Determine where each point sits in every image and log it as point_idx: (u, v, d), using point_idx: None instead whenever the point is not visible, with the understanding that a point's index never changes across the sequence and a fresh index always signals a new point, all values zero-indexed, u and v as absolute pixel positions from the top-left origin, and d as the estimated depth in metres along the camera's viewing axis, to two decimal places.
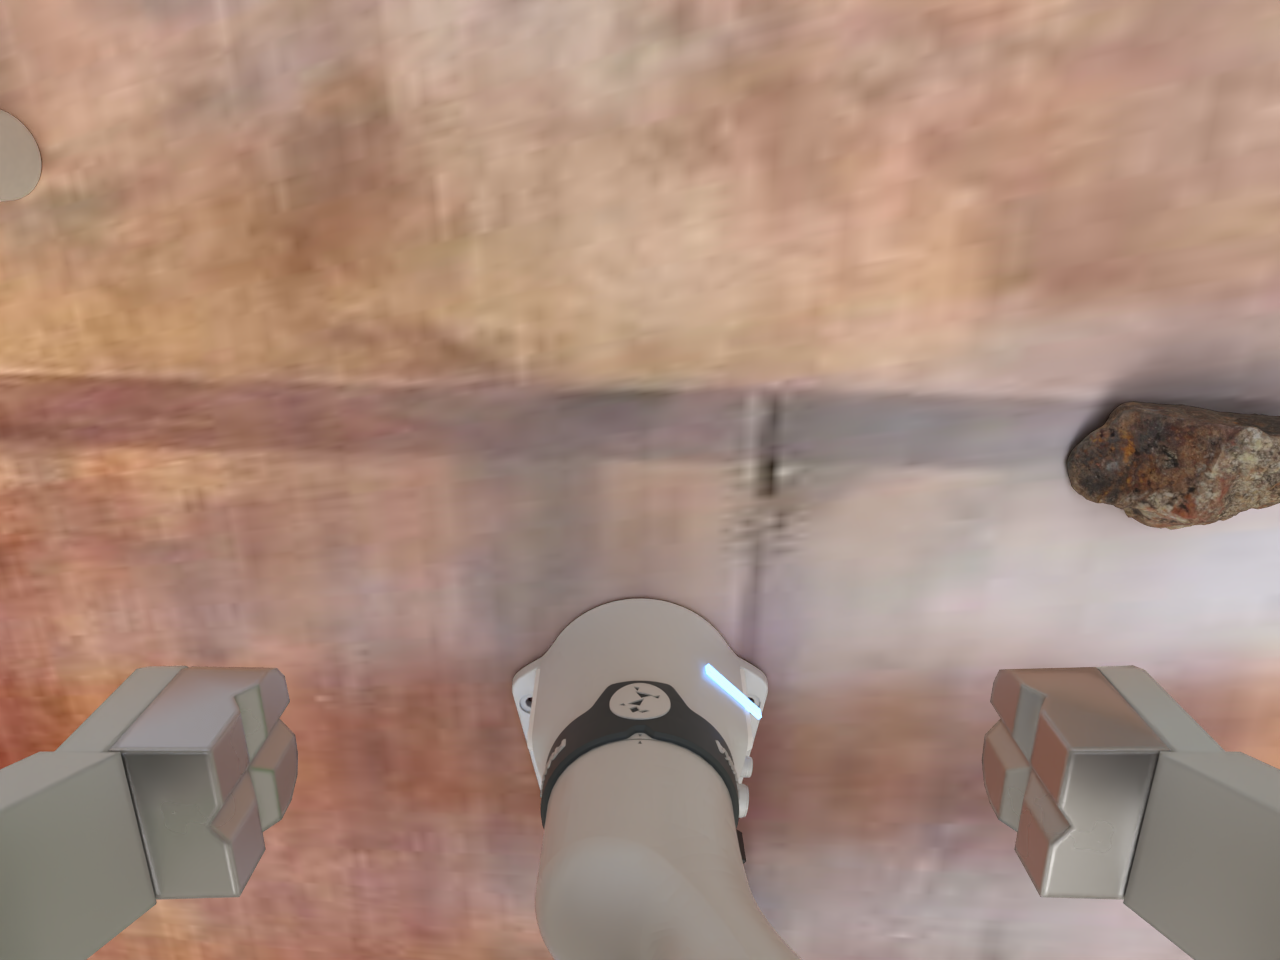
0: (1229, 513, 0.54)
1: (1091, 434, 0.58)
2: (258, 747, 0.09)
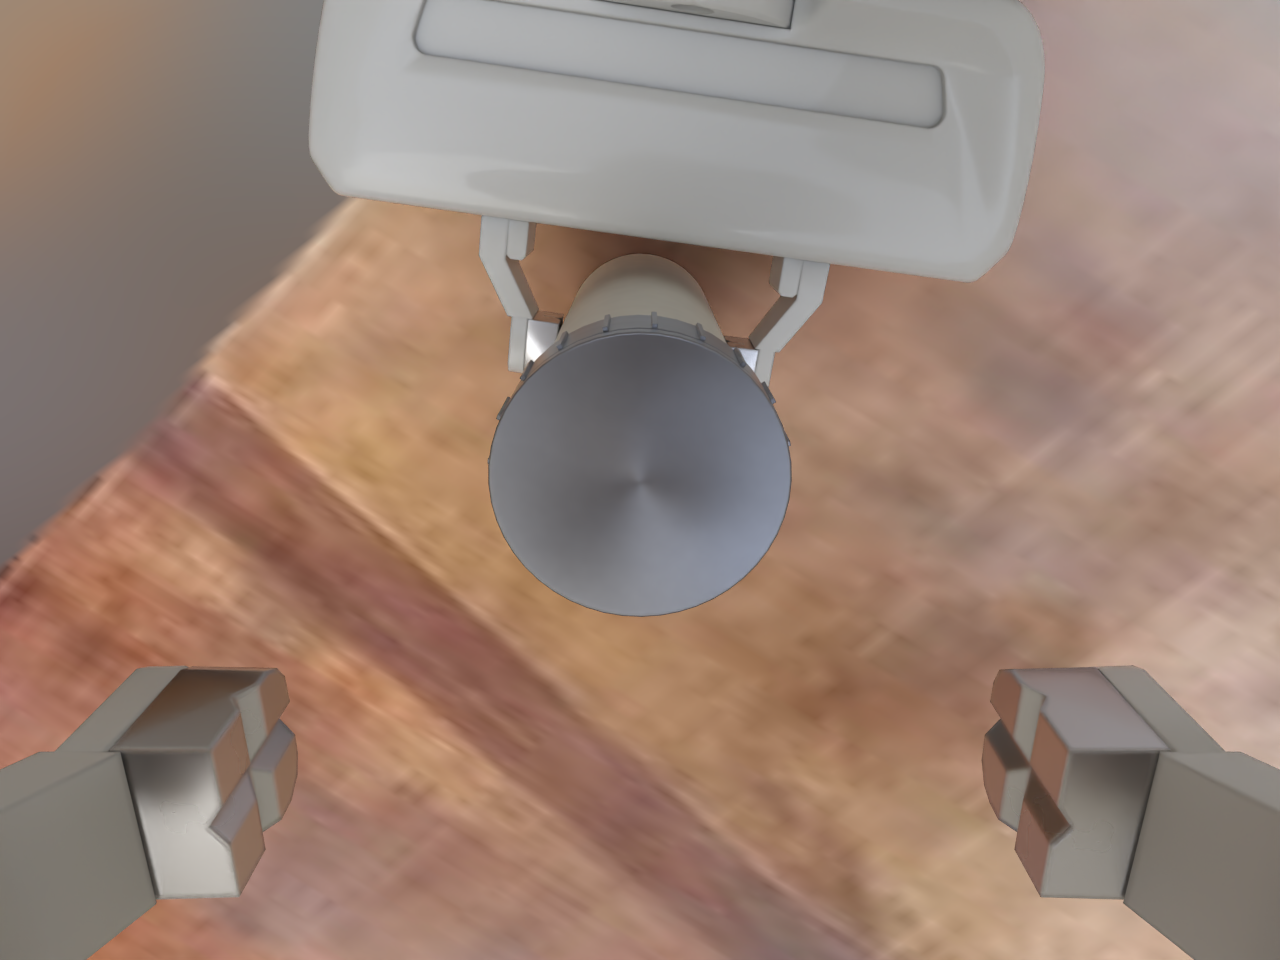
0: None
1: None
2: (258, 747, 0.09)
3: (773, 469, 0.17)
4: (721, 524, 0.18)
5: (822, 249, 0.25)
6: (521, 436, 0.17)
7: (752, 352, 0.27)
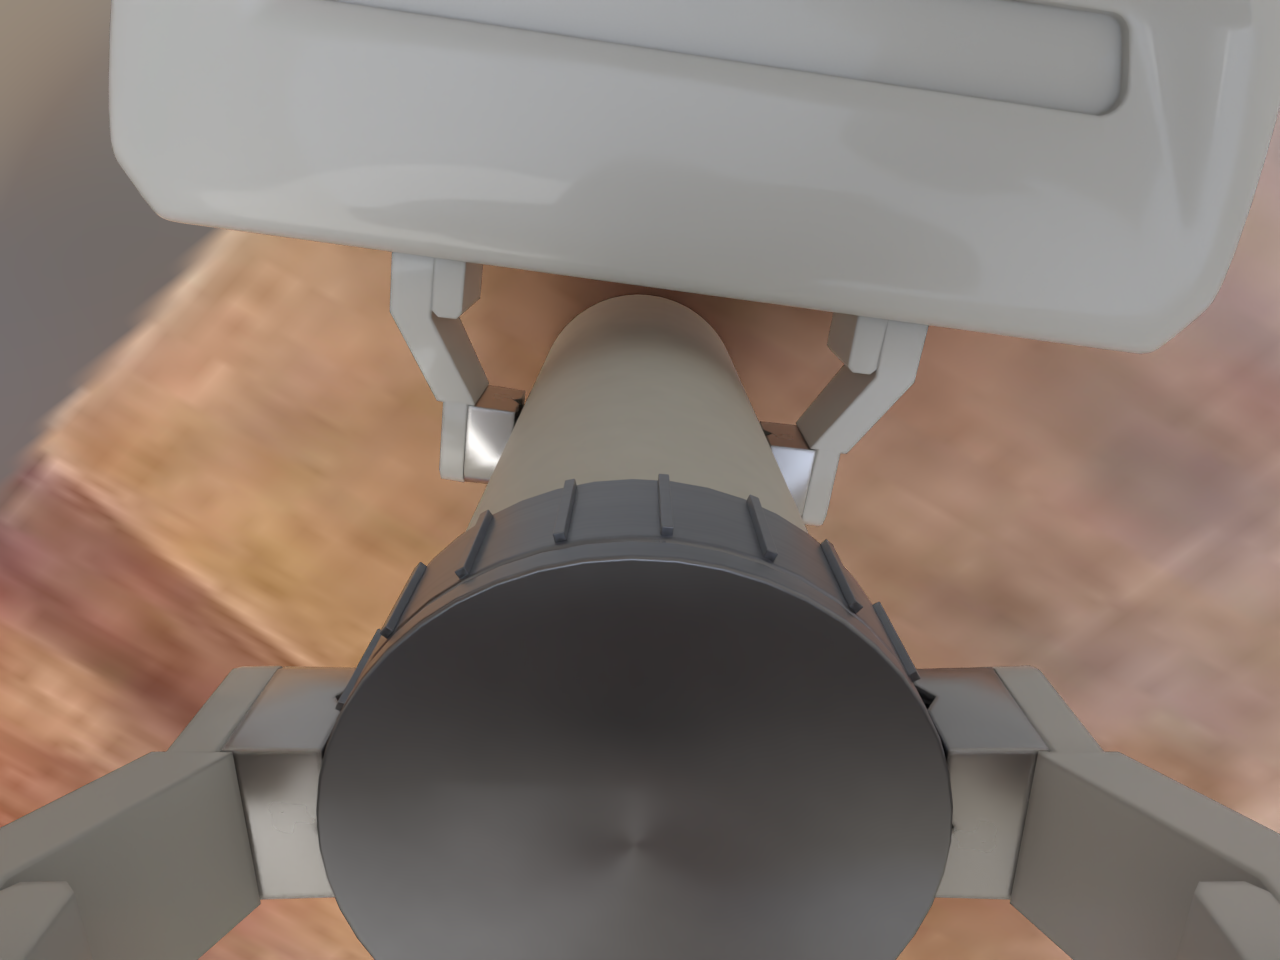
0: None
1: None
2: None
3: (915, 821, 0.08)
4: (802, 917, 0.09)
5: (921, 305, 0.16)
6: (381, 760, 0.08)
7: (806, 454, 0.18)
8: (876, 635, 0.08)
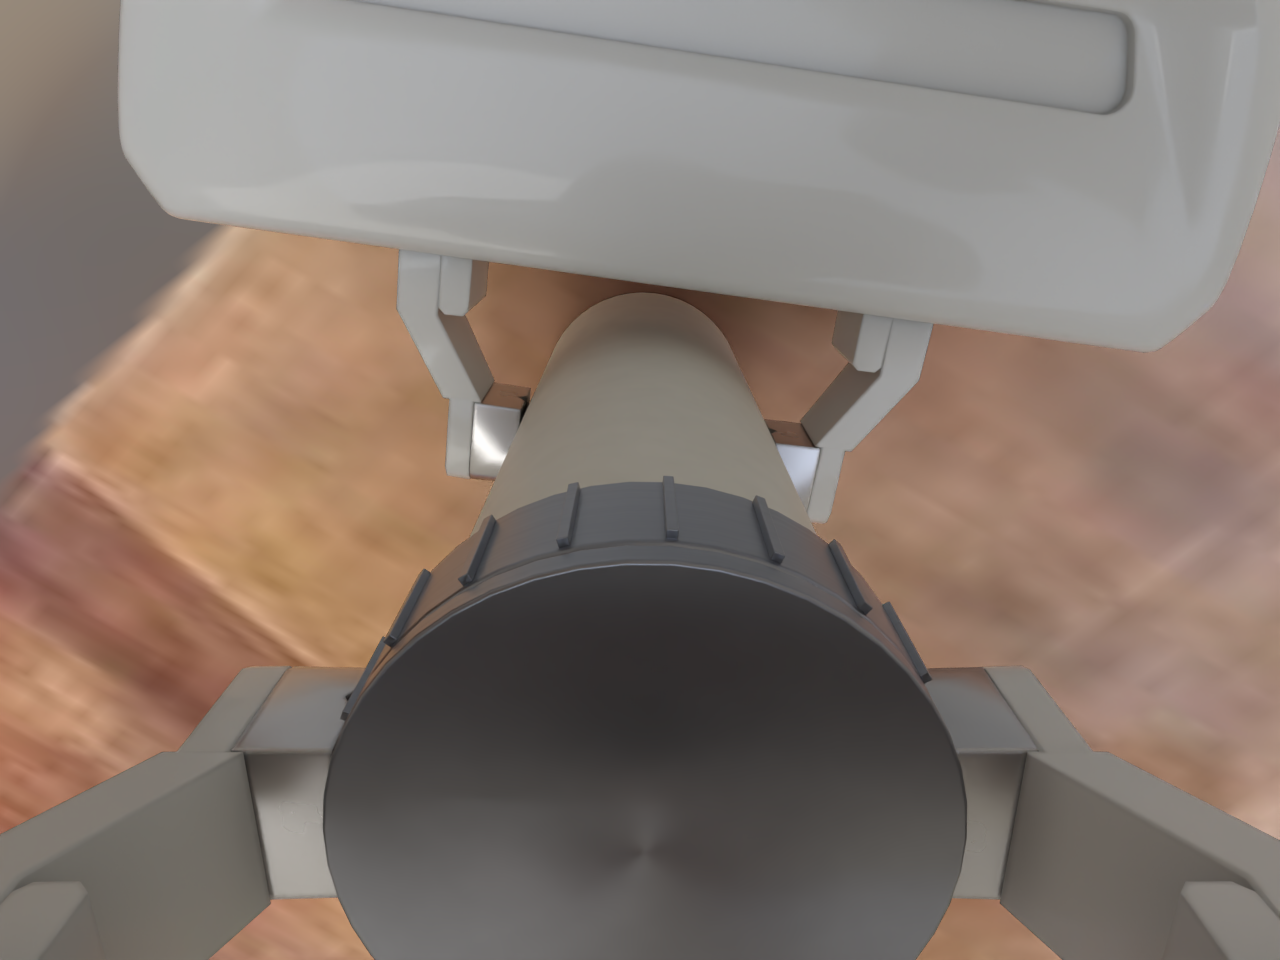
0: None
1: None
2: None
3: (796, 635, 0.07)
4: (830, 779, 0.08)
5: (926, 303, 0.16)
6: (430, 958, 0.09)
7: (811, 451, 0.18)
8: (598, 544, 0.08)
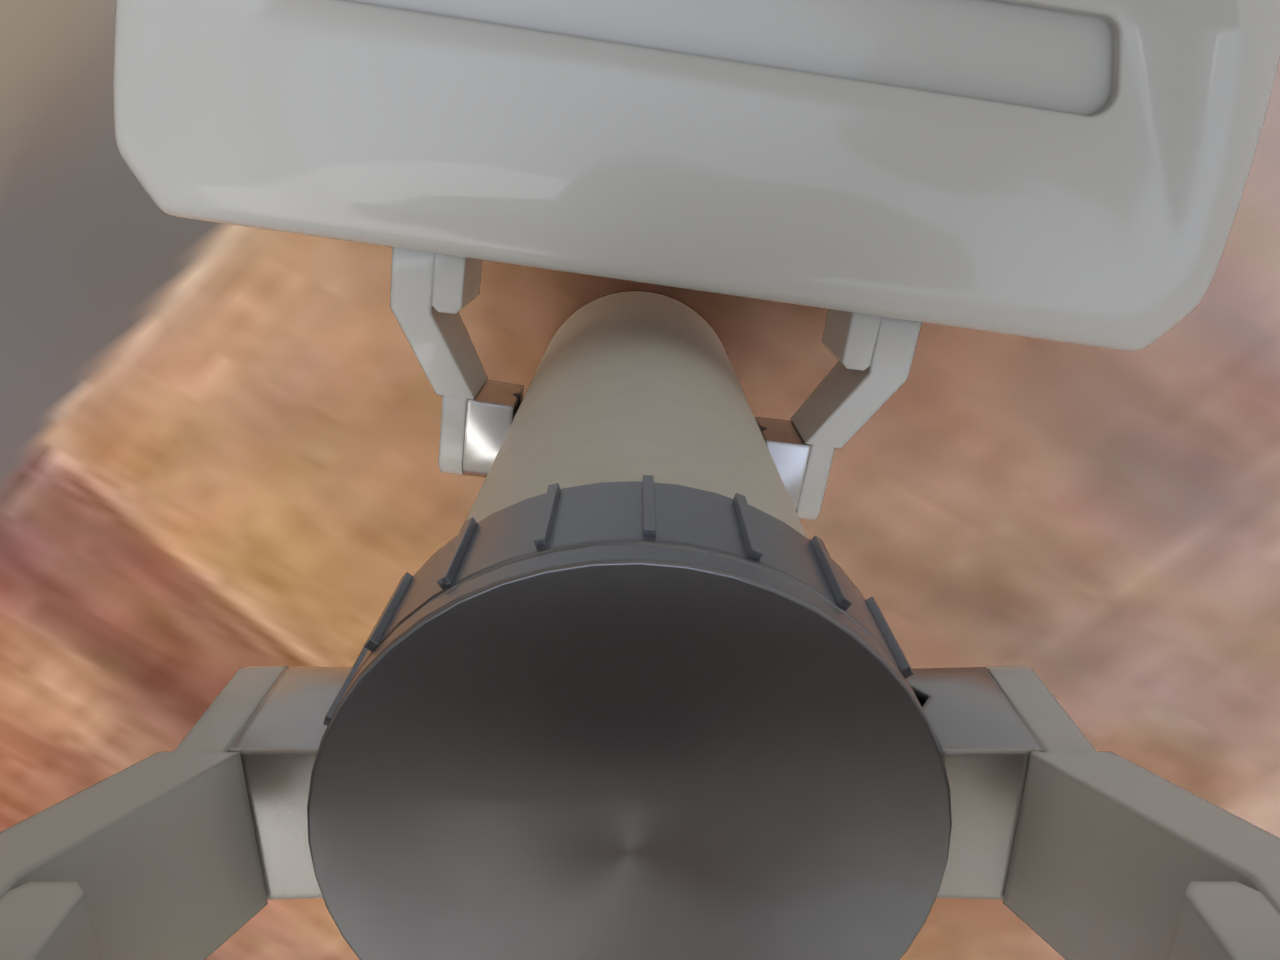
0: None
1: None
2: None
3: (489, 629, 0.07)
4: (660, 682, 0.08)
5: (914, 302, 0.16)
6: None
7: (801, 449, 0.18)
8: None
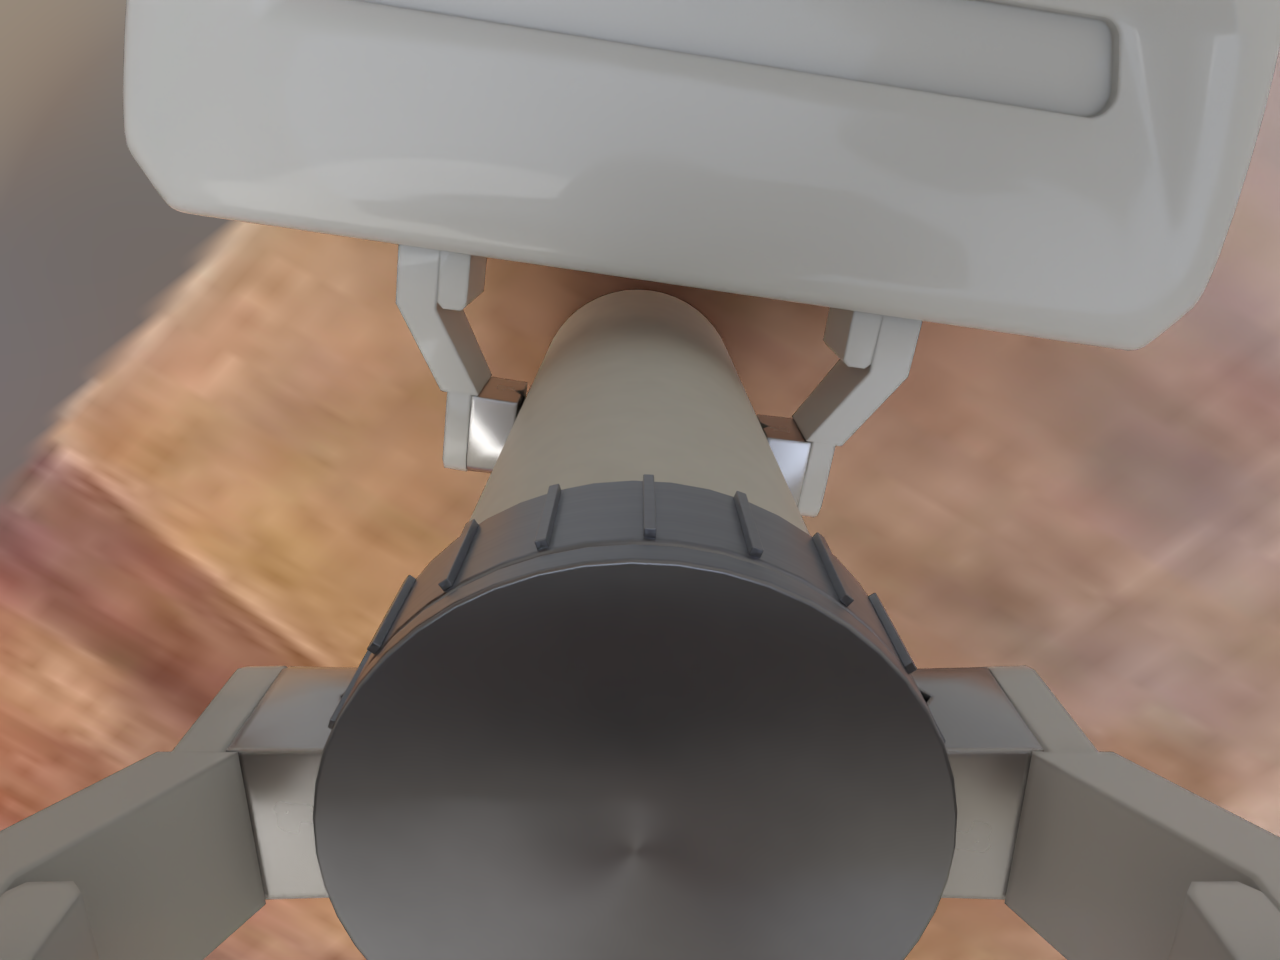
0: None
1: None
2: None
3: (350, 816, 0.08)
4: (481, 736, 0.08)
5: (915, 300, 0.17)
6: None
7: (802, 446, 0.18)
8: None
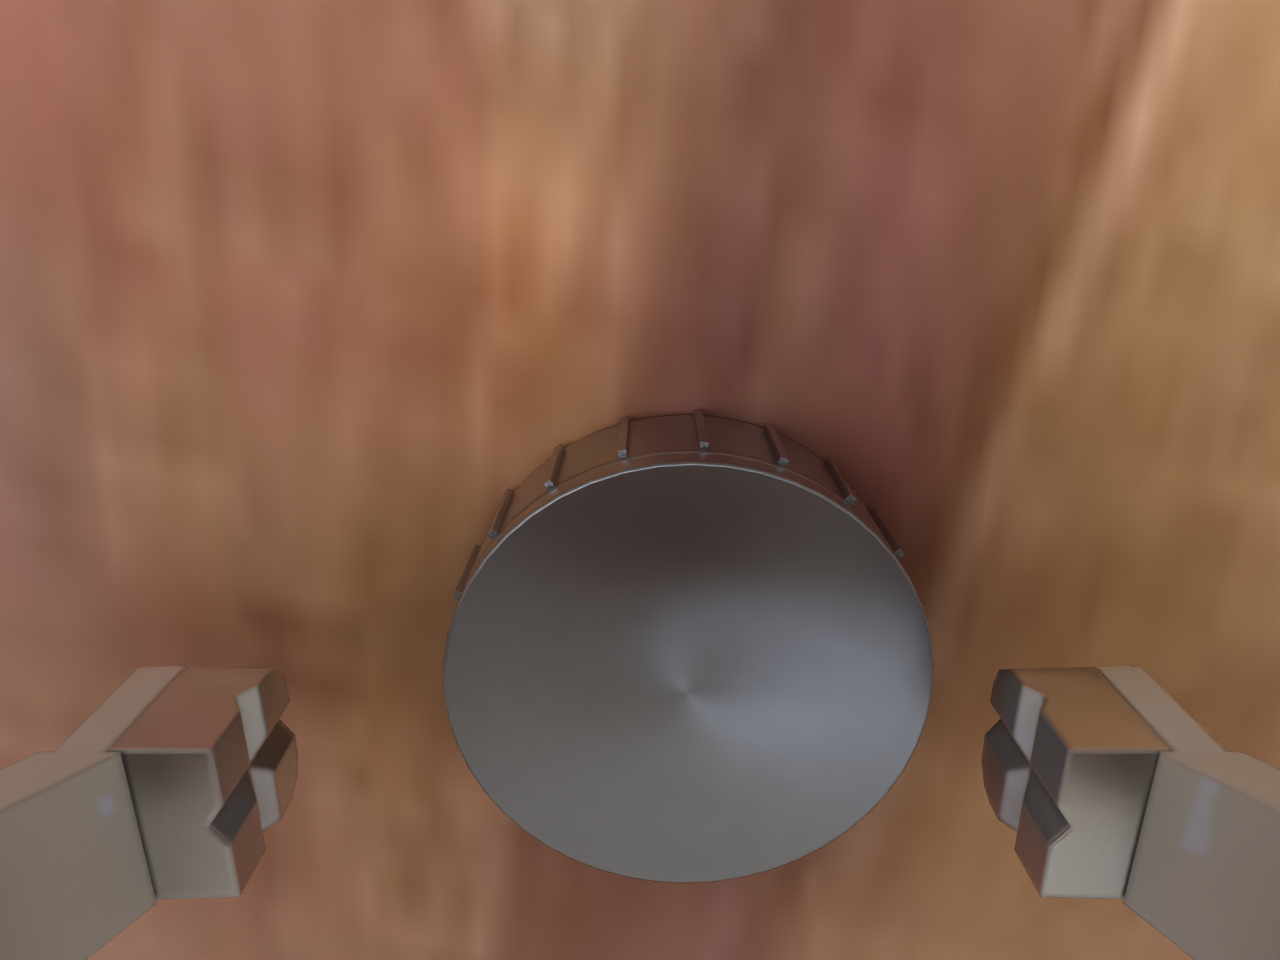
0: None
1: None
2: (258, 747, 0.09)
3: (473, 662, 0.11)
4: (575, 599, 0.10)
5: None
6: (837, 795, 0.11)
7: None
8: None
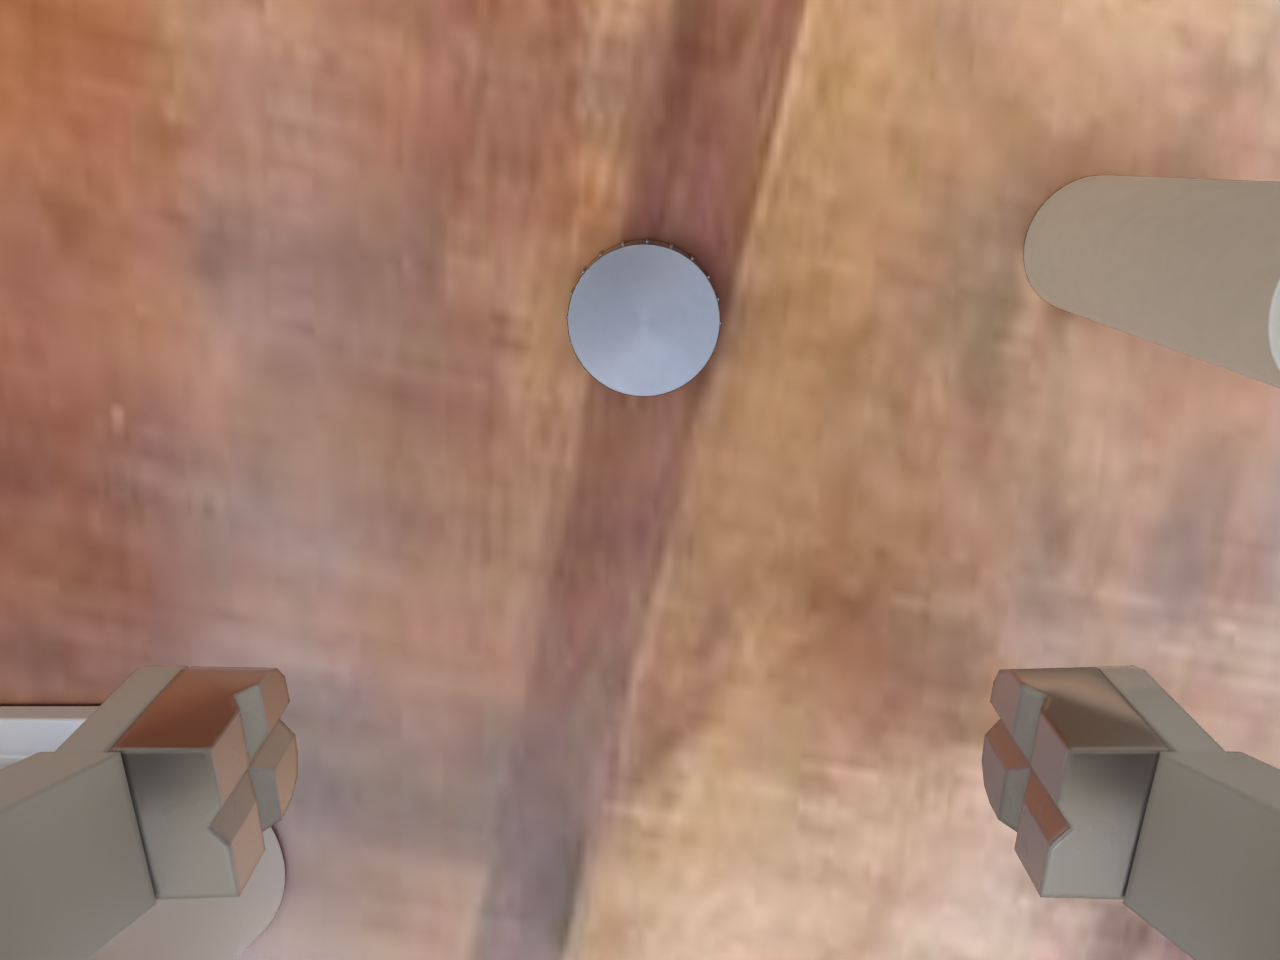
0: None
1: None
2: (258, 747, 0.09)
3: (577, 312, 0.34)
4: (608, 289, 0.34)
5: None
6: (693, 360, 0.35)
7: None
8: None
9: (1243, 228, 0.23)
